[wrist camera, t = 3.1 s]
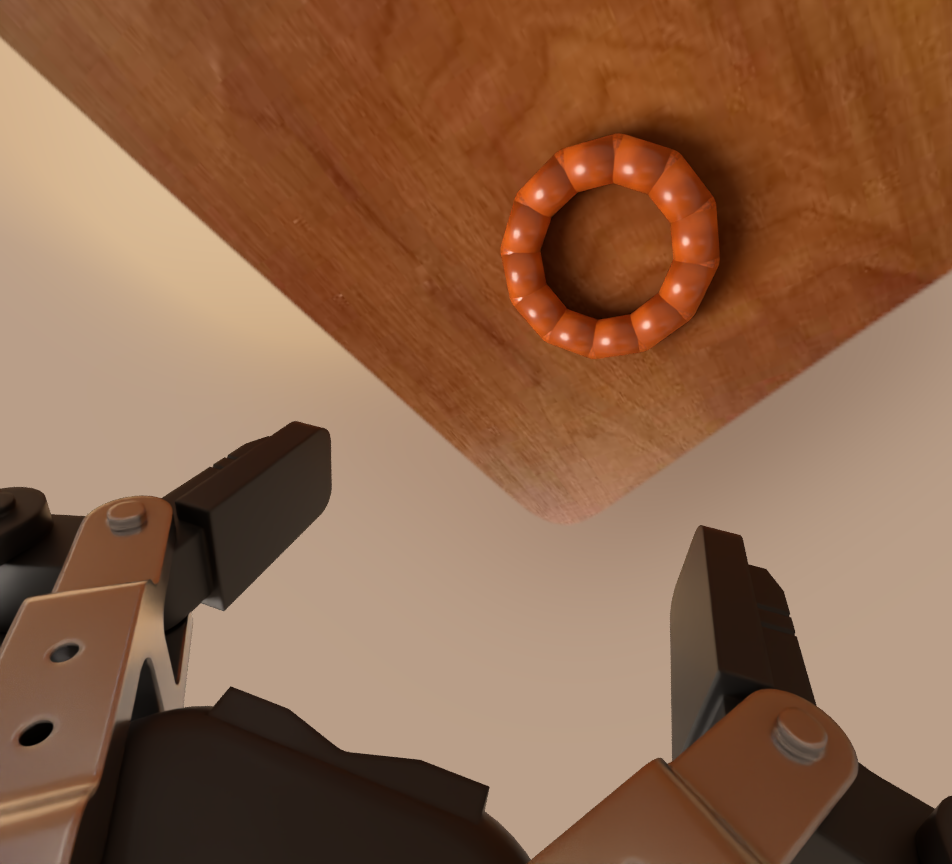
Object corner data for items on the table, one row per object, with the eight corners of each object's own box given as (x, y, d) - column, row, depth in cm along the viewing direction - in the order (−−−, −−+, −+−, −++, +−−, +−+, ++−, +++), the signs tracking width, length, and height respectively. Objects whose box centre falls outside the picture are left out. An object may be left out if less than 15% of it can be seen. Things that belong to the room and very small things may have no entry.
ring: (708, 109, 22) (711, 104, 20) (723, 334, 25) (727, 345, 23) (489, 171, 25) (478, 170, 23) (529, 362, 28) (521, 373, 27)
